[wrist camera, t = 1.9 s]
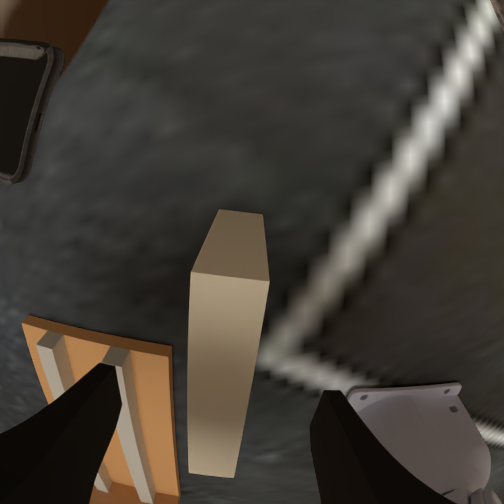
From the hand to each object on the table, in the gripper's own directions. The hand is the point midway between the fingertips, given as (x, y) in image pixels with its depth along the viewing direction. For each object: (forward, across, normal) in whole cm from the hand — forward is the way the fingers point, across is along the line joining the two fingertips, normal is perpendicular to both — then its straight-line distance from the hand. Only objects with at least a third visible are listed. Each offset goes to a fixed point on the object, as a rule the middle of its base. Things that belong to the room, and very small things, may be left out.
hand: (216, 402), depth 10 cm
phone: (+7, +18, -11) cm, 22 cm away
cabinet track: (+7, +8, +13) cm, 17 cm away
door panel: (+7, 0, 0) cm, 7 cm away
